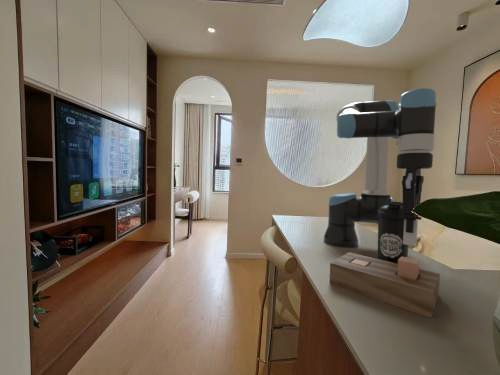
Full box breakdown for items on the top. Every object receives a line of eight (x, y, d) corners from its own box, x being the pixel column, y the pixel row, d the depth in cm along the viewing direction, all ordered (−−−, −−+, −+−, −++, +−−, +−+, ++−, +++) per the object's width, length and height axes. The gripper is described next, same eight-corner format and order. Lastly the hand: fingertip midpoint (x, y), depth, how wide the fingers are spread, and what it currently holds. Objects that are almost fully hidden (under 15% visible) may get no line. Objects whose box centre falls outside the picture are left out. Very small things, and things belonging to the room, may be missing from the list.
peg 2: (400, 277, 65) (401, 256, 65) (417, 281, 62) (419, 260, 62) (396, 281, 62) (397, 260, 62) (415, 286, 59) (416, 264, 59)
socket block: (347, 269, 80) (348, 252, 79) (438, 295, 63) (439, 273, 63) (329, 282, 70) (330, 262, 69) (431, 318, 53) (433, 292, 53)
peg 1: (354, 277, 73) (355, 258, 73) (368, 281, 71) (369, 262, 70) (349, 281, 70) (350, 262, 70) (363, 285, 68) (364, 266, 67)
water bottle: (370, 269, 80) (374, 202, 79) (379, 261, 88) (382, 200, 87) (406, 278, 74) (410, 205, 72) (411, 269, 81) (415, 202, 80)
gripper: (402, 155, 67) (398, 237, 68) (391, 151, 58) (386, 246, 59) (436, 154, 62) (431, 242, 63) (429, 149, 53) (423, 253, 54)
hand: (409, 244), depth 61 cm, fingers closed
